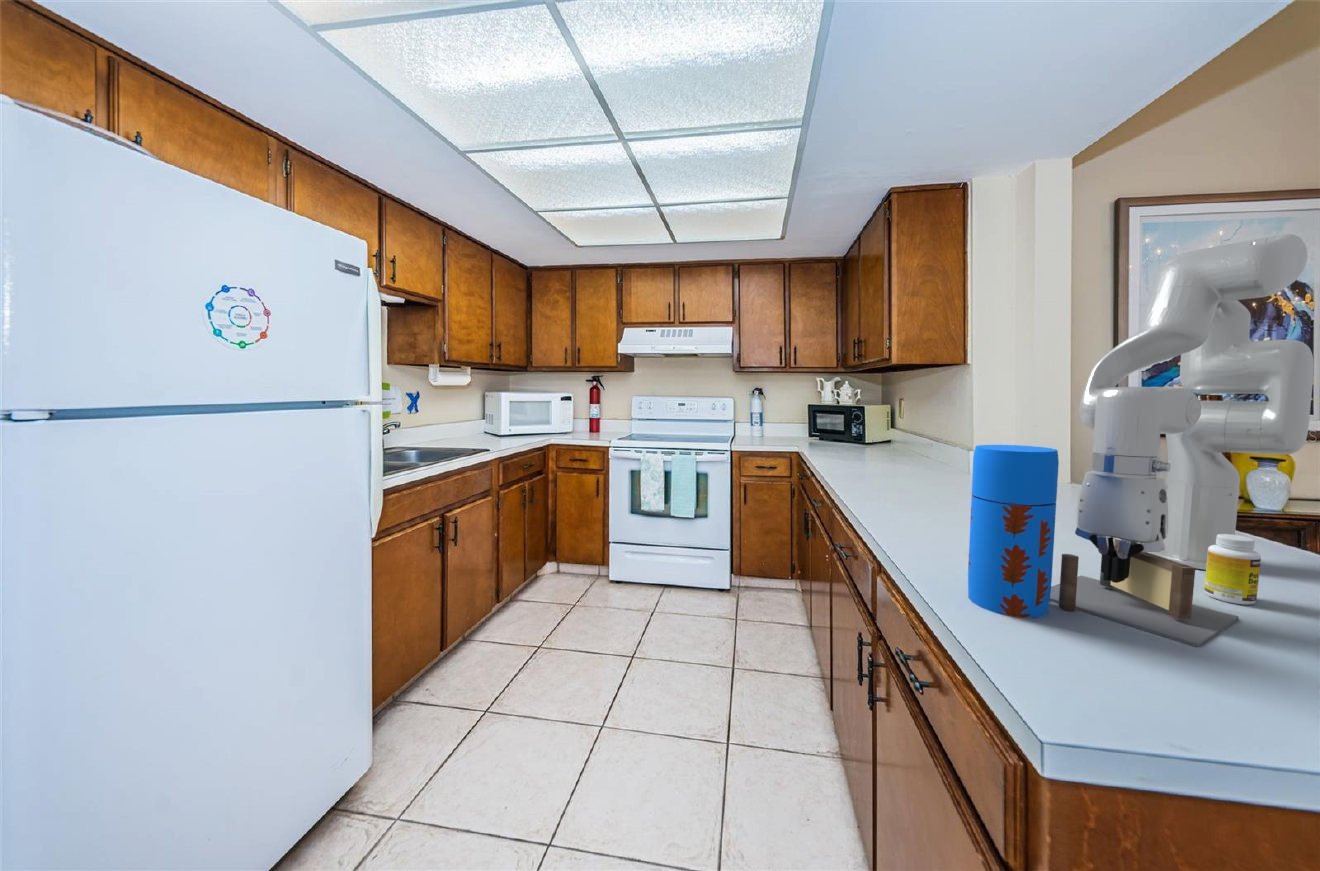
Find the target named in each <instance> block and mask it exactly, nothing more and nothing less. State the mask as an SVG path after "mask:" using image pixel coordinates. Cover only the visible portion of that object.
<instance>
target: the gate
mask: <svg viewBox="0 0 1320 871" xmlns="http://www.w3.org/2000/svg"><path fill="white" fill-rule="evenodd" d="M1115 546H1116V551H1117V552H1118V549H1119V546H1120V544H1119V543H1118V542H1116V541H1115ZM1117 552H1116V553H1117ZM1100 559H1101V560H1100V561H1102V556H1101V558H1100ZM1099 574H1100V575H1099V580H1100V585H1102V586H1106V587H1116V588H1118V589H1121V590H1123V591H1125V592H1128V593H1130V594H1132V595H1135V596H1137V597H1139V598H1142V599H1144V600H1146V601H1148V602H1151V603H1153V604H1155V605H1158V606H1160V607H1162V608H1165V609H1167V610H1169V613H1168V615H1171V616H1173V617H1175V618H1178V619H1191V613H1192V604H1193V601H1194V600H1193V599H1194V590H1195V589H1194V587H1195V578H1196V568H1194V567H1191V566H1188V565H1184V564H1181V563H1178V562H1175V561H1172V560H1169V559H1166V558H1163V557H1160V556H1157V555H1154V554H1151V553H1150V552H1140V553H1138V554H1136V555H1134V556H1133V557H1131V558H1130V570H1129V576H1128V578H1126V579H1125V580H1124V581H1121V582H1118V583H1114V582H1112V581H1111V580H1109V581H1107V580H1104V579H1103V576H1104V573H1102V572H1101V571H1100V573H1099Z"/></svg>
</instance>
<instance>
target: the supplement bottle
mask: <svg viewBox="0 0 1320 871" xmlns="http://www.w3.org/2000/svg"><path fill="white" fill-rule="evenodd" d="M1216 544H1217V545H1212V546H1210V547H1209V548H1208V556H1207V567H1206V570H1205V577H1204V578H1205V580H1204V592H1205V594H1206V595H1207V596H1209V597H1211V598H1213V599H1216V600H1217V601H1222V602H1226V603H1230V604H1236V605H1245V606H1246V605H1250V606H1251V605H1253V604H1256V602H1257V597H1258V588H1259V580H1260V573H1261V572H1260V571H1261V561H1262V560H1261V559H1262V558H1261V557H1262V556H1261V554H1260V553H1259V552H1258V551H1255V550H1254V549H1255V539H1254V538H1251V537H1247V536H1245V535H1244V536H1243V535H1236V534H1235V535H1230V534H1218V535H1217V539H1216Z"/></svg>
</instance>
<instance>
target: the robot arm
mask: <svg viewBox="0 0 1320 871" xmlns="http://www.w3.org/2000/svg"><path fill="white" fill-rule="evenodd" d="M1307 261H1308V248H1307V244H1306V243H1305V241H1304V240H1303V239H1302V238H1301V237H1300V236H1298V235H1295V234H1290V233H1289V234H1286V233H1285V234H1280V235H1274V236H1267V237H1263V238H1262V237H1261V238H1256V239H1251V240H1245V241H1239V242H1235V243H1229V244H1221V245H1217V246H1211V247H1205V248H1200V249H1199V248H1198V249H1195V250H1192V251H1187V252H1184V253H1181V254H1178V255H1175V256H1172V257H1170V258H1168V259H1167V260H1165V261H1164V262H1163V263H1162V265H1161V267H1160V270H1159V271H1158V273H1157V274H1156V277H1155V278H1154V281H1153V284H1152V287H1151V290H1150V294H1149V297H1148V299H1147V303H1146V306H1145V309H1144V312H1143V315H1142V318H1141V321H1140V324H1139V327H1138V330H1137V332H1136V333H1134V334H1133V335H1131V336H1129V337H1128V338H1127V339H1125V340H1123V341H1122V342H1120V343H1119V344H1118V345H1116V346H1115V347H1114V348H1112V349H1111V350H1110V351H1109V352H1107V353H1106V354H1105V355H1104V356H1102V357H1101V359H1099V360H1098V361H1097V362H1096V364H1095V365H1094V366H1093V367H1092V369H1091V371H1090V373H1089V374H1088V377H1087V379H1086V383H1085V386H1084V388H1083V391H1082V394H1081V398H1080V401H1079V407H1078V408H1079V409H1078V414H1079V418H1080V420H1081V422H1082V424H1083V425H1084V426H1086V427H1087V428H1089V429H1092V430H1093V441H1092V442H1093V444H1092V453H1091V454H1092V455H1091V456H1092V457H1091V468H1090V469H1091V470H1089V471H1086V472H1085V474H1084V478H1083V480H1082V483H1081V487H1080V489H1079V495H1078V499H1077V504H1076V511H1075V525H1076V529H1075V530H1074V533H1075V535H1076V536H1078V537H1080V538H1083V539H1085V540H1087V541H1090V542H1091V543H1092V544H1093V546H1095V548H1097V550H1098V553H1099V554H1101V557H1102V561H1101V560H1100V561H1101V562H1100V572H1102V573H1104V576H1103V579H1104V580H1107V581H1109V580H1111V581H1112V582H1114V583H1118V582H1121V581H1124V580H1125V579H1126V578H1128V576H1129V570H1130V558H1131V557H1133V556H1134V555H1136V554H1138V553H1140V552H1148V553H1151V554H1154V555H1157V556H1160V557H1163V558H1166V559H1169V560H1172V561H1175V562H1178V563H1181V564H1184V565H1188V566H1191V567H1194V568H1195V570H1196V569H1198V570H1205V571H1206V567H1207V556H1208V548H1209V547H1210V546H1212V545H1217V544H1216V539H1217V535H1218V534H1230V535H1236V527H1237V518H1238V516H1237V515H1238V505H1239V504H1238V503H1239V496H1240V495H1239V493H1240V482H1241V477H1240V473H1239V471H1238V470H1237V468H1236V467H1235V466H1234V464H1233V463H1232V462H1230V461H1229V460H1228V458H1226V457H1225V456H1224V454H1222V453H1240V454H1243V453H1244V454H1256V455H1271V456H1272V455H1274V456H1275V455H1276V456H1277V455H1279V456H1283V455H1292V454H1295V453H1297V452H1299V451H1300V450H1302V449H1303V447H1304V445H1305V443H1306V442H1307V439H1308V438H1307V437H1308V433H1309V427H1310V426H1309V425H1310V417H1311V416H1310V415H1311V407H1312V406H1311V405H1312V404H1311V403H1312V395H1313V394H1312V393H1313V384H1314V383H1313V382H1314V373H1315V371H1314V369H1315V368H1314V367H1315V364H1314V363H1315V362H1314V357H1313V356H1314V354H1313V353H1312V350H1311V348H1310V347H1309V345H1307V344H1306V343H1304V342H1302V341H1300V340H1296V339H1285V338H1284V339H1269V340H1268V339H1267V340H1251V339H1250V331H1251V321H1252V315H1251V312H1250V311H1249V309H1248V308H1247V307H1246V306H1245V305H1244V304H1242V303H1241V302H1240V300H1248V299H1249V300H1250V299H1258V298H1265V297H1269V296H1273V295H1275V294H1278V293H1280V292H1281V291H1282V290H1284V289H1286V288H1288V287H1289V286H1290V285H1292V284H1293V283H1294V282H1296V281H1297V280H1298V279H1299V278H1300V276H1301V275H1302V273H1303V272H1304V270H1305V268H1306V265H1307ZM1179 356H1180V364H1179V381H1180V385H1181V387H1177V386H1117V385H1118V384H1119V383H1120V382H1121V381H1122V380H1123V379H1125V378H1126V377H1127V376H1129V375H1131V374H1133V373H1135V372H1137V371H1139V370H1141V369H1144V368H1146V367H1150V366H1153V365H1155V364H1158V363H1162V362H1164V361H1167V360H1170V359H1173V358H1176V357H1179ZM1196 394H1214V395H1215V394H1216V395H1218V394H1222V395H1223V394H1225V395H1226V394H1227V395H1229V394H1230V395H1232V394H1235V395H1236V394H1238V395H1239V394H1247V395H1248V394H1252V395H1253V394H1256V395H1257V394H1259V395H1260V394H1261V395H1264V396H1266V397H1267V398H1268V400H1267V401H1265V400H1261V401H1260V400H1259V401H1258V400H1257V401H1256V400H1255V401H1254V400H1253V401H1251V400H1249V401H1248V400H1247V401H1246V400H1200V399H1199V398H1198V397H1197V395H1196ZM1161 435H1165V439H1166V445H1167V446H1166V447H1167V462H1164V460H1163V461H1162V460H1161V457H1160V456H1159V454H1160V453H1159V450H1160V442H1161V441H1160V439H1161ZM1162 472H1167V473H1166V481H1165V478H1164V477H1160V476H1158V475H1159V473H1162ZM1115 539H1118V540H1121V542H1120V546H1119V549H1118V552H1117V551H1116V546H1115ZM1116 552H1117V553H1116Z"/></svg>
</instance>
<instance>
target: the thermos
mask: <svg viewBox="0 0 1320 871" xmlns="http://www.w3.org/2000/svg"><path fill="white" fill-rule="evenodd" d="M973 452H974V453H973V458H972V475H971V476H972V478H971V499H970V500H971V501H970V504H971V505H970V521H969V522H970V524H969V525H970V526H969V542H968V544H969V545H968V547H969V548H968V568H967V586H968V587H967V589H968V590H967V591H968V592H967V593H968V599H969V600H970V601H971V602H972V603H973V604H974V605H976V606H978V607H980V608H982V609H985V610H986V611H990V612H992V613H993V612H994V613H996V614H999V615H1004V616H1008V617H1015V618H1030V619H1031V618H1032V619H1035V618H1041V617H1042V618H1043V617H1044V616H1046V615H1047V614H1048V613H1049V607H1050V602H1051V601H1050V593H1051V587H1052V581H1053V580H1052V579H1053V565H1054V564H1053V562H1054V546H1055V530H1056V528H1055V527H1056V511H1057V496H1058V495H1057V494H1058V483H1059V482H1058V481H1059V480H1058V479H1059V464H1060V463H1059V462H1060V461H1059V453H1058V449H1056V448H1051V447H1044V446H1036V445H1035V446H1034V445H1033V446H1032V445H1022V444H1021V445H1016V444H980V445H979V444H978V445H975V447H974V451H973Z"/></svg>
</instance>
